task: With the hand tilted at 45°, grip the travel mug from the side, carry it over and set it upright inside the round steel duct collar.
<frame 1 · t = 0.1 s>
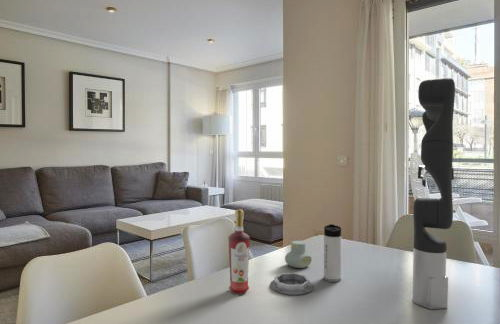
hand: (435, 186, 157), 31 cm above the table, tool tilted 20°, fingers open, 8 cm apart
duct collar: (291, 286, 122), on the table
liquor: (239, 292, 117), on the table
travel mug: (332, 279, 129), on the table
air freshener: (298, 266, 143), on the table
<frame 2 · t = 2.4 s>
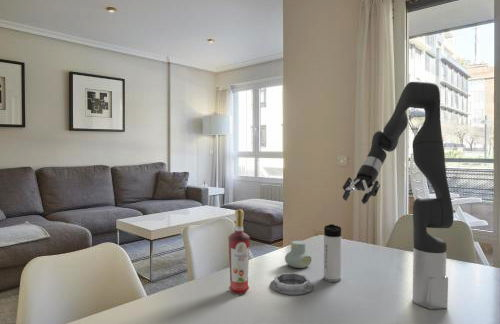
hand: (353, 201, 137), 28 cm above the table, tool tilted 40°, fingers open, 8 cm apart
nothing on the table moved.
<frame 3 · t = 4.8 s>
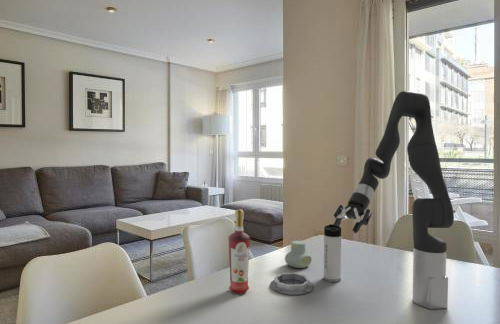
hand: (344, 229, 133), 17 cm above the table, tool tilted 45°, fingers open, 8 cm apart
nothing on the table moved.
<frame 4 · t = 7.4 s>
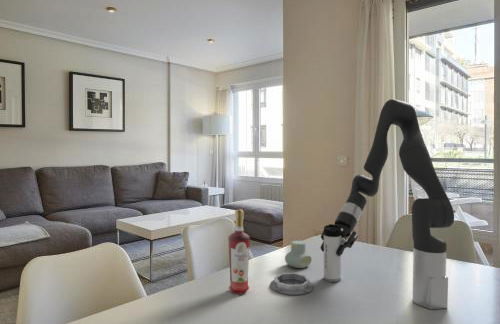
hand: (329, 252, 127), 10 cm above the table, tool tilted 45°, fingers closed on travel mug, 6 cm apart
travel mug: (332, 279, 129), on the table, touching gripper
everything else where it was.
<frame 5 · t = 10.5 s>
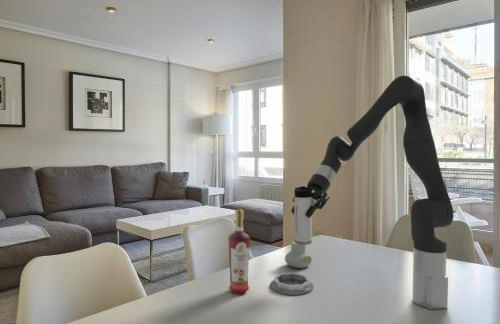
hand: (300, 214, 122), 25 cm above the table, tool tilted 45°, fingers closed on travel mug, 6 cm apart
travel mug: (303, 242, 124), point 15 cm above the table, touching gripper
everything else where it was.
when the fingers open (12 cm above the table, at t = 13.9 s): travel mug drops 1 cm, resting on duct collar.
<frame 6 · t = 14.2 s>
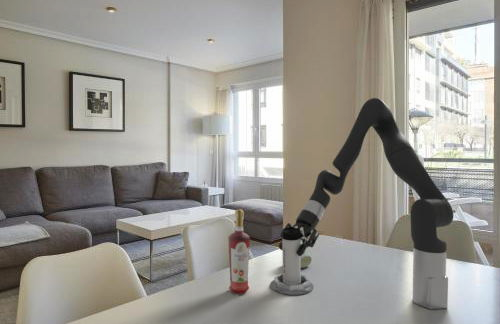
hand: (289, 251, 120), 13 cm above the table, tool tilted 45°, fingers open, 8 cm apart
travel mug: (291, 284, 122), point 1 cm above the table, touching duct collar
everything else where it was.
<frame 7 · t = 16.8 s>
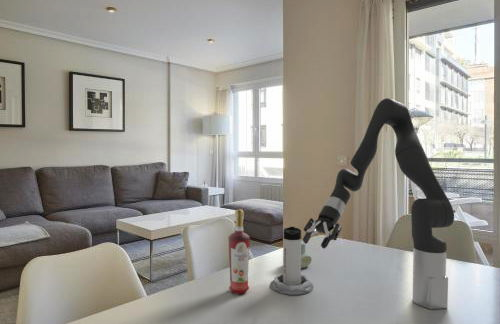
hand: (313, 244, 129), 13 cm above the table, tool tilted 45°, fingers open, 8 cm apart
nothing on the table moved.
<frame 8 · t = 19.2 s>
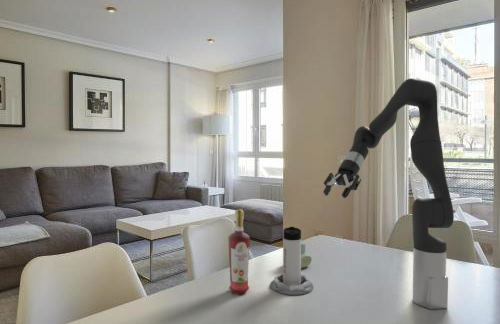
hand: (334, 195, 133), 31 cm above the table, tool tilted 45°, fingers open, 8 cm apart
nothing on the table moved.
at the end: travel mug 0.2 cm off-centre on the duct collar, point 0.4 cm above the duct collar's base; travel mug tilted 0°; the gripper is holding nothing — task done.
